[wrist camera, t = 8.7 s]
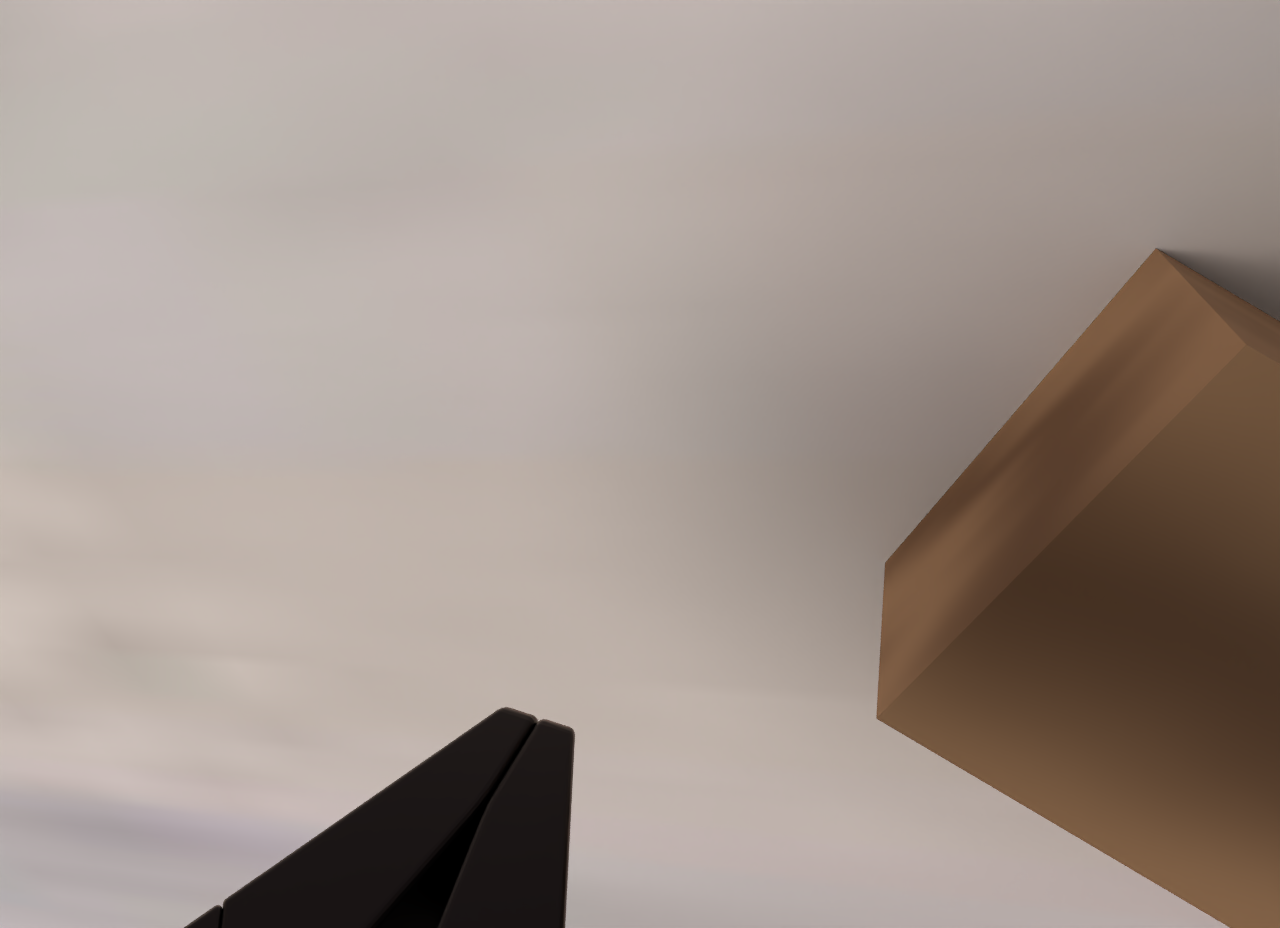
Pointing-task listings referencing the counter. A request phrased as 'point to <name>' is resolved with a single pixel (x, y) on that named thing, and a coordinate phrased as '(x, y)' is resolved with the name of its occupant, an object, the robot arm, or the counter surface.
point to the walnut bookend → (1118, 598)
